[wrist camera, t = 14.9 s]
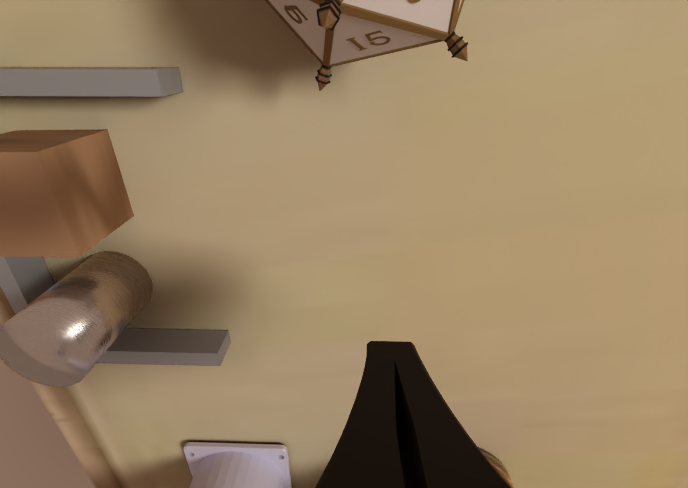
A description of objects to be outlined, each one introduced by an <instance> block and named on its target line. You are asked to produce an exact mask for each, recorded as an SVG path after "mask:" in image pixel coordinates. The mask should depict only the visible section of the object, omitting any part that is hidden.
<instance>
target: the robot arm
mask: <svg viewBox="0 0 688 488" xmlns="http://www.w3.org/2000/svg"><path fill="white" fill-rule="evenodd" d="M183 450H184V453H185V456H186V459H187V462H188V465H189V469H190V472H191V475H192V478H193V479H192V482H191V484H190V487H189V488H292V483H291V474H290V466H289V457H288V449H287V447H286V446H284V445H277V444H242V443H207V442H188V443H186V444H185V446H184V448H183ZM315 488H511V487H510V486H509V484H508V483H507V482H506V481H505V480H504V479H503V477H502V476H501V475H500V474H499V473H498V472H497V470H496V469H495V468H494V467H493V466H492V465H491V463H490V462H489V461H488V460H487V458H486V457H485V456H484V455H483V453H482V452H481V451H480V450H479V448H478V447H477V446H476V445H475V443H474V442H473V441H472V439H471V438H470V437H469V435H468V434H467V433H466V431H465V430H464V428H463V427H462V426H461V424H460V423H459V421H458V420H457V418H456V417H455V416H454V414H453V413H452V411H451V410H450V408H449V407H448V405H447V404H446V402H445V400H444V399H443V397H442V396H441V394H440V392H439V391H438V389H437V388H436V386H435V384H434V383H433V381H432V379H431V377H430V376H429V374H428V372H427V370H426V368H425V367H424V365H423V363H422V361H421V359H420V357H419V355H418V353H417V351H416V348H415V346H414V345H413V344H412V343H411V342H389V341H370V342H369V343H368V344H367V357H366V363H365V368H364V372H363V376H362V380H361V383H360V386H359V390H358V393H357V396H356V399H355V402H354V405H353V407H352V410H351V413H350V415H349V418H348V421H347V423H346V426H345V428H344V430H343V433H342V435H341V437H340V440H339V442H338V444H337V446H336V448H335V450H334V453H333V455H332V457H331V459H330V461H329V463H328V465H327V466H326V468H325V470H324V472H323V474H322V476H321V478H320V480H319V482H318V484H317V485H316V487H315Z"/></svg>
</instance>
